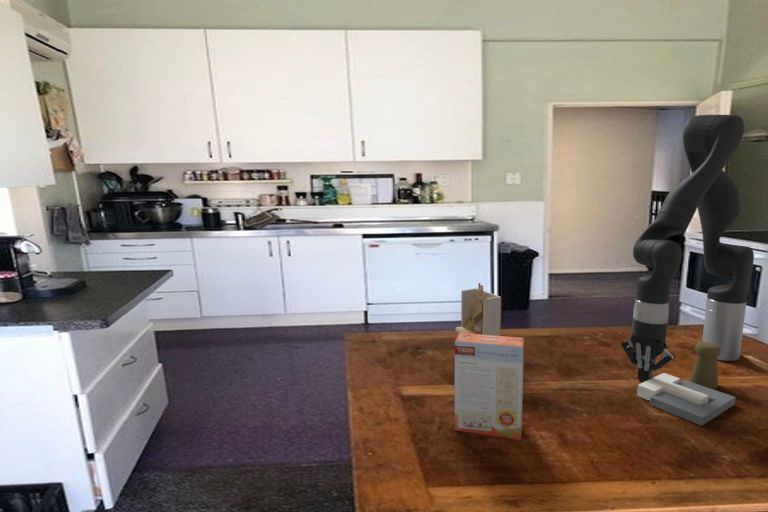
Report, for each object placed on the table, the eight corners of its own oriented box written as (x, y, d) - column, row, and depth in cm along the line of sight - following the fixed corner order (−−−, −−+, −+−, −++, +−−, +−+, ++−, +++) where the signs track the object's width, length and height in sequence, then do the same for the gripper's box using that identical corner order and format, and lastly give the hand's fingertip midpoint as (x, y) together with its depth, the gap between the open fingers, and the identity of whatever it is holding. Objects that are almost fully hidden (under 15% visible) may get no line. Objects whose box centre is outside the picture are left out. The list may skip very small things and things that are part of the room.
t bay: (649, 404, 107) (650, 397, 107) (683, 387, 115) (684, 379, 115) (701, 425, 98) (702, 417, 98) (734, 404, 106) (735, 397, 106)
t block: (636, 396, 111) (637, 384, 111) (662, 383, 118) (663, 372, 117) (690, 417, 101) (691, 405, 101) (715, 402, 107) (716, 390, 107)
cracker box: (521, 426, 99) (525, 336, 95) (520, 442, 94) (524, 347, 90) (458, 417, 104) (459, 330, 100) (453, 431, 98) (454, 340, 94)
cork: (723, 390, 113) (727, 348, 111) (696, 388, 114) (700, 347, 113) (711, 379, 119) (715, 340, 117) (685, 378, 120) (689, 338, 118)
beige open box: (474, 356, 139) (475, 275, 134) (499, 370, 129) (501, 283, 124) (453, 361, 136) (453, 278, 131) (476, 375, 125) (478, 287, 121)
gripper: (686, 322, 109) (679, 388, 112) (632, 308, 120) (627, 369, 123) (670, 328, 105) (663, 396, 108) (616, 313, 116) (611, 376, 119)
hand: (643, 382), depth 116 cm, fingers closed
